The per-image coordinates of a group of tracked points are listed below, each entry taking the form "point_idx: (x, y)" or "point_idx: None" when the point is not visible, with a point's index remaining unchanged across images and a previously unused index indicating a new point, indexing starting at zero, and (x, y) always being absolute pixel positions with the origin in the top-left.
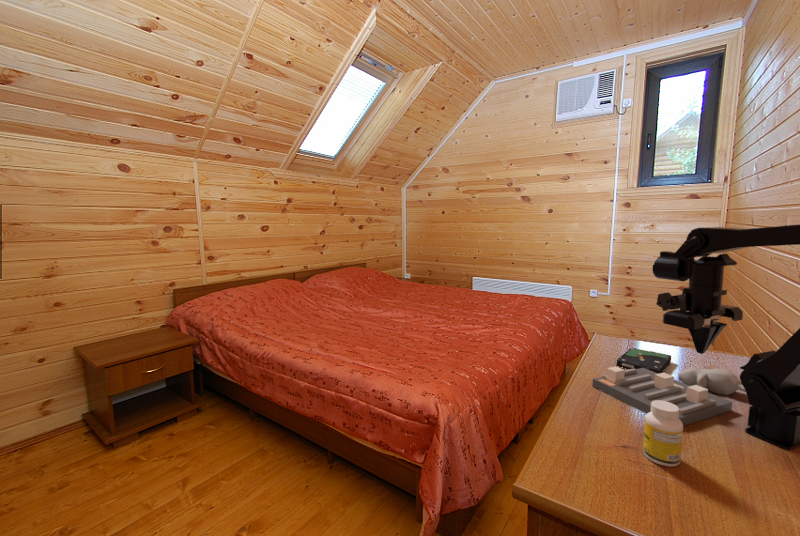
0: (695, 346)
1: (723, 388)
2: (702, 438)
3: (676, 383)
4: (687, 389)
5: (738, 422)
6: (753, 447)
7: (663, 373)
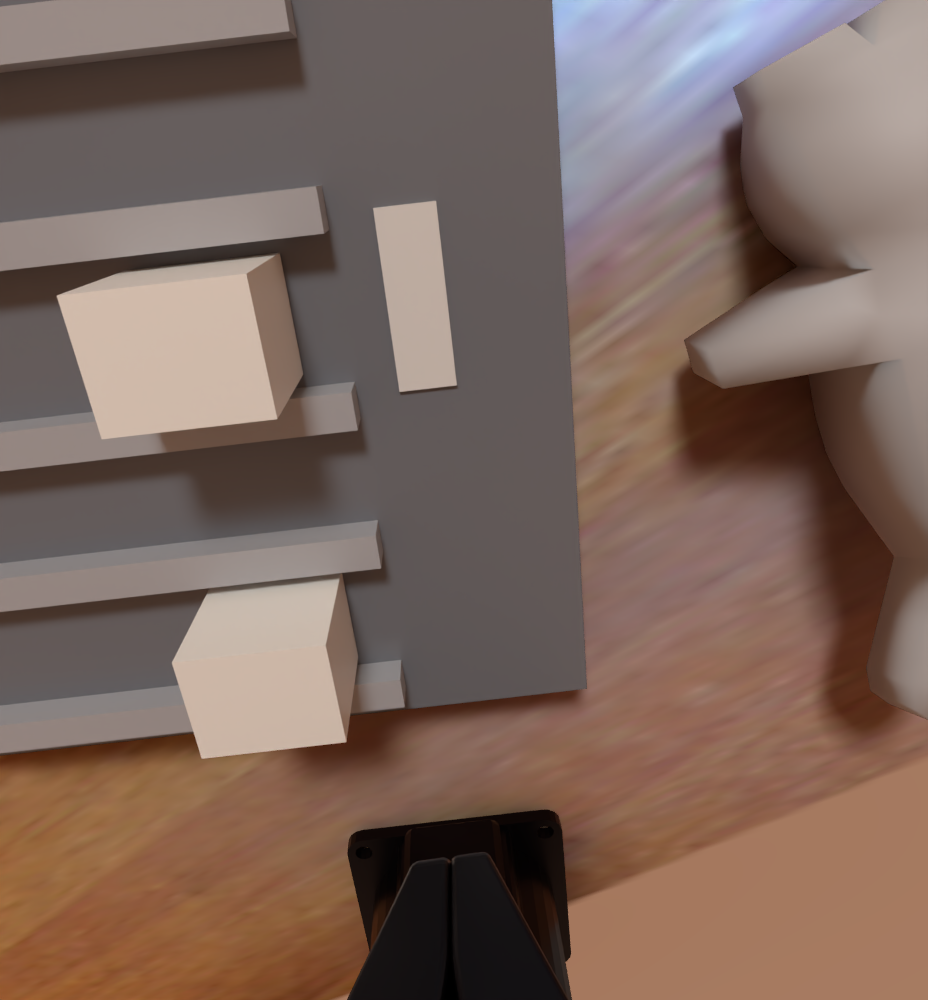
0: (364, 980)
1: (854, 469)
2: (13, 821)
3: (479, 271)
4: (181, 653)
5: (439, 752)
6: (235, 920)
7: (218, 298)
